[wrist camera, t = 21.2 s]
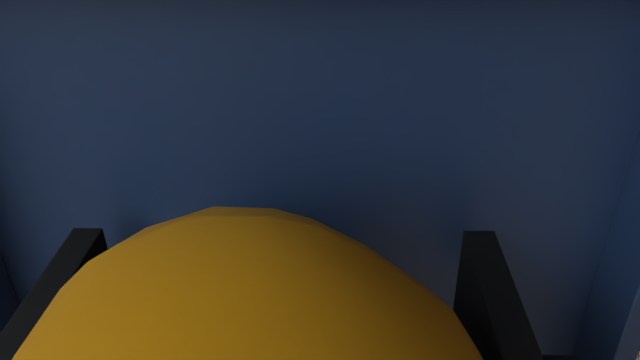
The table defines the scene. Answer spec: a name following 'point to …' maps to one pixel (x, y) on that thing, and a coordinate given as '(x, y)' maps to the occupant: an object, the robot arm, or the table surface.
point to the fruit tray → (341, 136)
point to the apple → (245, 298)
